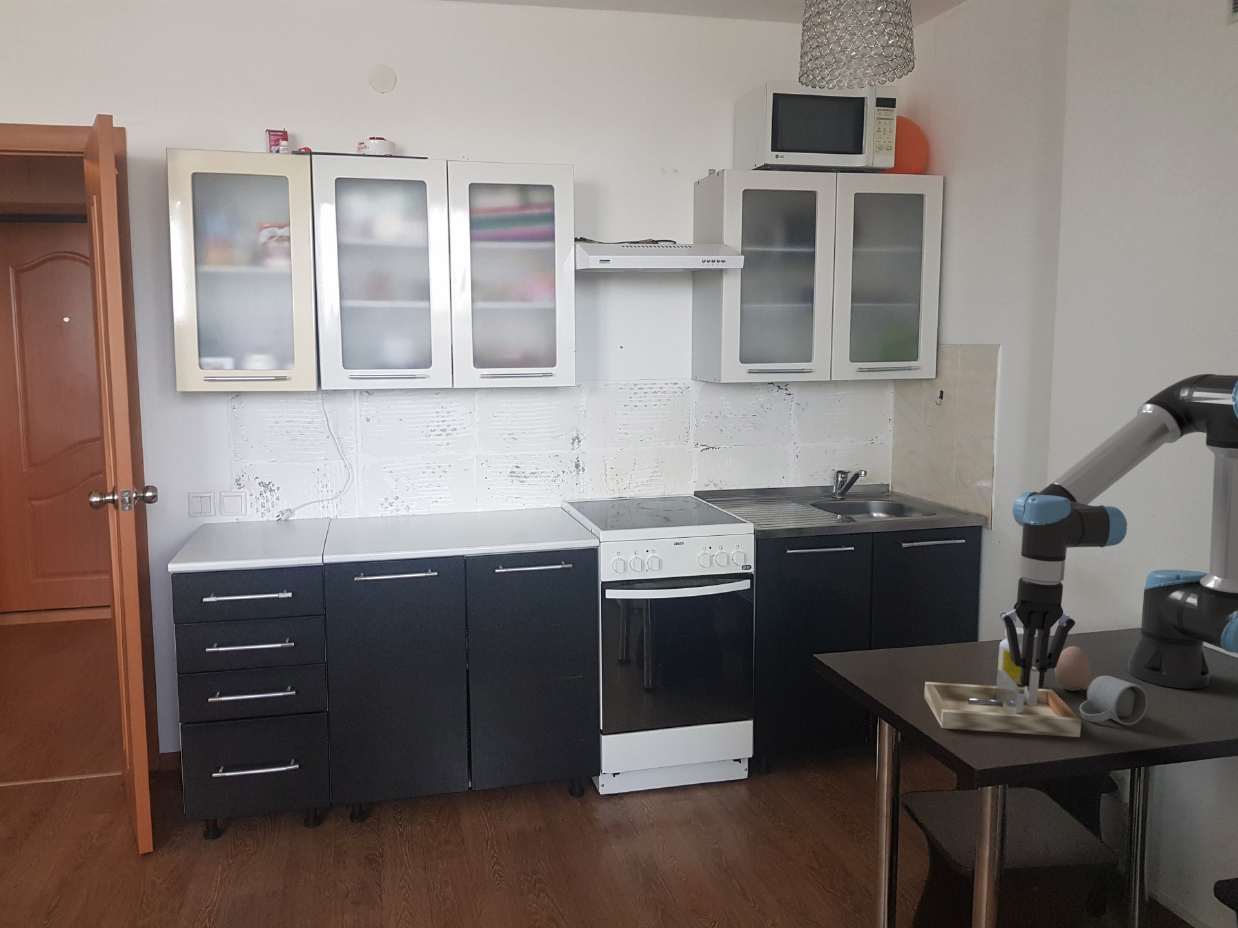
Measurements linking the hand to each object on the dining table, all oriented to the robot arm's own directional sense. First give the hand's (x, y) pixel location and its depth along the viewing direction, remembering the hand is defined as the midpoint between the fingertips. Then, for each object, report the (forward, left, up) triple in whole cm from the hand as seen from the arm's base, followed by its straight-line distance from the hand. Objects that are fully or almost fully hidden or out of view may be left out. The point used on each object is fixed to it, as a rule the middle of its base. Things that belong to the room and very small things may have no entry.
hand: (1030, 702), depth 179 cm
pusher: (+7, 0, -2) cm, 7 cm away
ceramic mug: (-15, -3, -3) cm, 16 cm away
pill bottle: (-3, -18, -3) cm, 19 cm away
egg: (-14, -17, -3) cm, 22 cm away
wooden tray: (+5, 0, -3) cm, 6 cm away
